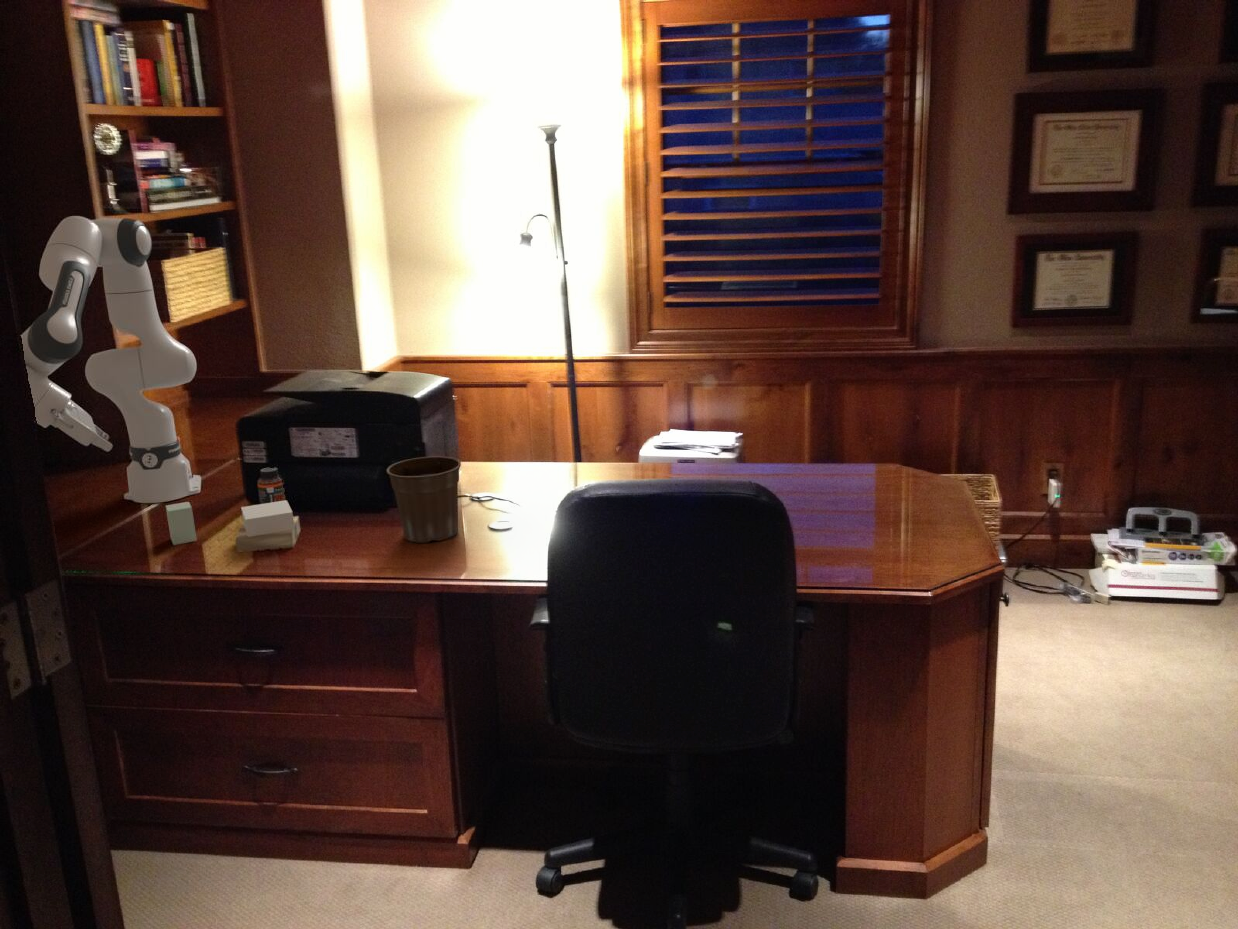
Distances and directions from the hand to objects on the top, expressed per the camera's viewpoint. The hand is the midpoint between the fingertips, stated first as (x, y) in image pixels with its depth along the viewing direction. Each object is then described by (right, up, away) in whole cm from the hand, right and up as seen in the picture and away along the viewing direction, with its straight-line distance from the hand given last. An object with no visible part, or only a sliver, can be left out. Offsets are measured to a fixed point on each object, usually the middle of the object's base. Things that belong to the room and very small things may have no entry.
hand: (108, 444), depth 241 cm
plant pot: (+69, -20, +8) cm, 72 cm away
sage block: (+12, -22, +12) cm, 27 cm away
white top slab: (+33, -18, +7) cm, 38 cm away
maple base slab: (+32, -22, +9) cm, 40 cm away
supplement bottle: (+28, -17, +27) cm, 42 cm away
